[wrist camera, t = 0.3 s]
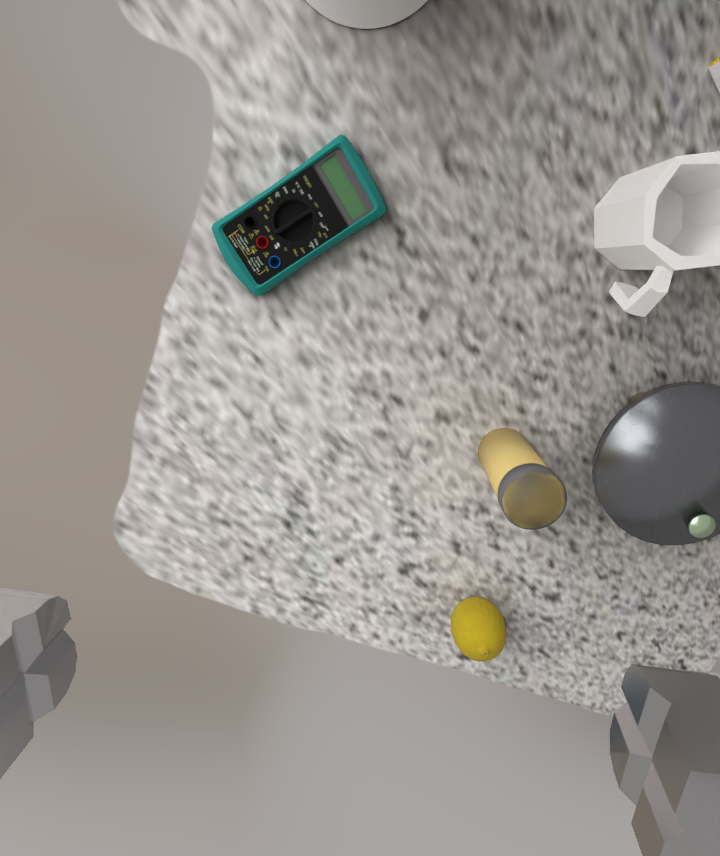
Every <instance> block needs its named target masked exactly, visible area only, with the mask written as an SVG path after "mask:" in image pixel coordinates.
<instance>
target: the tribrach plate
mask: <svg viewBox="0 0 720 856" xmlns="http://www.w3.org/2000/svg"><path fill="white" fill-rule="evenodd" d="M592 475H593V484H594V488H595V492H596V495H597V497H598V500H599V502H600V504H601V505H602V507H603V509H604V510H605V511H606V513H607V514H608V515H609V516H610V517H611V519H612V520H613V521H614V522H615V523H616V524H617V525H618V526H620V527H621V528H622V529H623V530H625V531H626V532H628V533H629V534H631V535H633V536H635V537H637V538H639V539H641V540H644V541H647V542H651V543H656V544H662V545H683V544H690V543H695V542H699V541H703V540H706V539H708V538H711V537H714V536H716V535H718V534H720V386H717V385H714V384H709V383H704V382H679V383H674V384H668V385H665V386H662V387H658V388H656V389H654V390H651V391H649V392H641V393H638V394H636V395H634V396H633V397H632V398H631V399H630V400H629V401H628V403H627V405H626V406H625V407H624V408H623V409H622V410H621V411H620V412H619V413H618V414H617V415H616V416H615V417H614V418H613V420H612V421H611V422H610V423H609V425H608V426H607V428H606V429H605V431H604V432H603V434H602V436H601V438H600V440H599V442H598V445H597V448H596V451H595V455H594V460H593V470H592Z"/></svg>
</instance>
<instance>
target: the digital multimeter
mask: <svg viewBox="0 0 720 856" xmlns="http://www.w3.org/2000/svg"><path fill="white" fill-rule="evenodd" d="M342 150H343V151H342ZM343 152H344V153H343ZM247 209H248V210H247ZM385 212H386V207H385V204H384V202H383V200H382V197H381V195H380V193H379V191H378V189H377V187H376V185H375V183H374V181H373V179H372V177H371V175H370V173H369V172H368V170H367V168H366V166H365V165H364V163H363V161H362V160H361V158H360V157H359V155H358V154H357V152H356V150H355V149H354V147H353V146H352V145H351V143H350V142H349V140H348V139H347V137H346V136H344V135H340V136H338V137H336V138H335V139H334V140H333V141H331V142H330V143H329V144H327V145H326V146H325V147H324V148H322V149H321V150H320V151H318V152H317V153H316V154H315V155H313V156H312V157H311V158H309V159H308V160H307V161H306V162H304V163H303V164H302V165H300V166H299V167H298V168H296V169H295V170H293V171H292V172H291V173H289V174H288V175H287V176H285V177H284V178H282V179H281V180H280V181H278V182H277V183H275V184H274V185H273V186H271V187H270V188H268V189H267V190H265V191H264V192H262V193H261V194H259V195H258V196H256V197H255V198H253V199H252V200H250V201H249V202H247V203H246V204H244V205H243V206H241V207H239V208H238V209H236V210H235V211H233V212H231V213H230V214H228V215H227V216H225V217H223V218H222V219H220V220H219V221H217V222H215V223H214V224H213V225H212V230H213V233H214V236H215V239H216V241H217V244H218V246H219V249H220V251H221V253H222V255H223V257H224V259H225V261H226V263H227V264H228V266H229V267H230V269H231V270H232V272H233V273H234V274H235V275H236V276H237V278H238V279H239V280H240V281H241V282H242V283H243V284H244V285H245V286H246V287H247V288H248V289H249V290H250V291H251V292H252V293H253V294H254V295H257V296H259V295H263V294H265V293H266V292H268V291H269V290H271V289H272V288H273V287H275V286H276V285H277V284H279V283H280V282H281V281H283V280H284V279H285V278H287V277H288V276H290V275H291V274H293V273H294V272H295V271H297V270H298V269H300V268H301V267H303V266H304V265H305V264H307V263H308V262H310V261H311V260H313V259H314V258H315V257H317V256H319V255H320V254H322V253H323V252H325V251H326V250H328V249H329V248H331V247H333V246H334V245H336V244H337V243H339V242H340V241H342V240H344V239H345V238H347V237H348V236H350V235H352V234H353V233H355V232H357V231H358V230H360V229H362V228H364V227H365V226H367V225H369V224H370V223H372V222H374V221H375V220H377V219H379V218H380V217H382V216H383V215H384V214H385ZM237 216H238V217H237ZM227 223H228V224H227ZM236 252H237V253H236ZM238 255H239V256H238ZM285 268H286V269H285ZM247 269H248V270H247ZM282 270H283V271H282ZM279 272H280V273H279ZM276 274H277V275H276ZM273 276H274V277H273ZM270 278H271V279H270ZM267 280H268V281H267Z"/></svg>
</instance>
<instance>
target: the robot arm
mask: <svg viewBox="0 0 720 856" xmlns="http://www.w3.org/2000/svg"><path fill="white" fill-rule="evenodd" d="M306 1H307V2H308V3H309V4H310V5H311V6H312V7H313V8H314V9H315V10H317V11H318V12H319V13H320V14H322V15H323V16H325V17H326V18H328V19H330V20H332V21H334V22H336V23H339V24H341V25H344V26H348V27H353V28H360V29H373V28H380V27H385V26H388V25H391V24H394V23H397V22H399V21H401V20H403V19H405V18H407V17H408V16H410V15H411V14H413V13H414V12H416V11H417V10H418V9H419V8H420V7H422V6H423V5H424V4H425V3H426V2H427V1H428V0H306ZM70 619H71V617H70V612H69V608H68V603H67V600H65V599H63V598H61V597H59V596H55V595H48V594H41V593H35V592H28V591H21V590H14V589H7V588H0V779H1V778H2V776H3V775H4V774H5V772H6V771H7V770H8V768H9V767H10V766H11V765H12V763H13V762H14V761H15V759H16V758H17V757H18V756H19V754H20V753H21V752H22V751H23V749H24V748H25V747H26V746H27V744H28V743H29V742H30V740H31V739H32V738H33V736H34V721H35V720H37V719H39V718H41V717H42V716H44V715H46V714H48V713H49V712H51V711H53V710H54V709H55V708H56V707H57V705H58V704H59V702H60V701H61V700H62V699H63V697H64V696H65V695H66V693H67V691H68V689H69V686H70V684H71V681H72V679H73V676H74V674H75V669H76V660H77V653H76V646H75V642H74V641H73V640H72V639H71V638H70V637H69V636H68V634H67V633H66V632H65V631H64V630H63V629H64V628H65V626H66V625H67V623H68V622H69V621H70ZM621 688H622V690H623V692H624V695H625V697H626V700H627V703H625V704H624V705H623V706H621V707H620V708H618V709H617V710H616V711H614V715H613V719H612V724H611V728H610V755H611V760H612V765H613V770H614V773H615V776H616V779H617V782H618V785H619V788H620V790H622V792H623V793H624V794H625V795H626V796H627V797H628V798H629V799H630V800H631V801H632V802H633V803H634V804H635V805H636V810H635V813H634V816H633V820H632V827H633V829H634V832H635V835H636V838H637V841H638V844H639V847H640V849H641V852H642V855H643V856H720V674H719V673H703V672H694V671H685V670H676V669H667V668H659V667H650V666H641V665H632V664H631V666H630V667H629V668H628V670H627V671H626V672H625V675H624V679H623V682H622V685H621Z"/></svg>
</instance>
